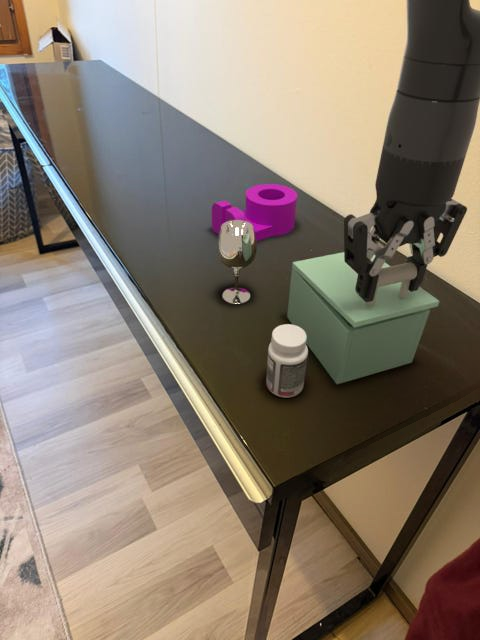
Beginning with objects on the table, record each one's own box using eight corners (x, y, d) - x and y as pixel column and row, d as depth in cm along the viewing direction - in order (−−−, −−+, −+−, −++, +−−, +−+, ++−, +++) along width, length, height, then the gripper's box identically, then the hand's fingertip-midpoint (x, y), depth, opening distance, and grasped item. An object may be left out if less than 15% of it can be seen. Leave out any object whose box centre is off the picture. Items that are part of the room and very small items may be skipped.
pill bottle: (309, 380, 58) (317, 330, 53) (292, 404, 55) (299, 354, 50) (277, 366, 60) (281, 316, 55) (258, 388, 57) (261, 338, 52)
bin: (412, 362, 61) (430, 310, 55) (336, 384, 58) (348, 332, 52) (353, 301, 72) (363, 252, 66) (286, 317, 68) (291, 267, 63)
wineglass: (210, 296, 72) (208, 228, 64) (234, 281, 75) (235, 214, 68) (238, 311, 69) (239, 241, 62) (261, 294, 73) (265, 226, 65)
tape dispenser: (273, 208, 97) (275, 180, 93) (304, 227, 91) (307, 197, 87) (210, 228, 90) (209, 198, 86) (239, 249, 83) (239, 218, 79)
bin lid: (438, 306, 54) (449, 266, 51) (354, 327, 51) (360, 287, 48) (364, 252, 66) (369, 218, 63) (292, 267, 63) (294, 231, 60)
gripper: (383, 167, 38) (351, 325, 48) (514, 148, 42) (459, 297, 53) (337, 141, 43) (317, 288, 54) (457, 127, 48) (417, 266, 58)
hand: (387, 292), depth 53 cm, fingers closed on bin lid, 5 cm apart
